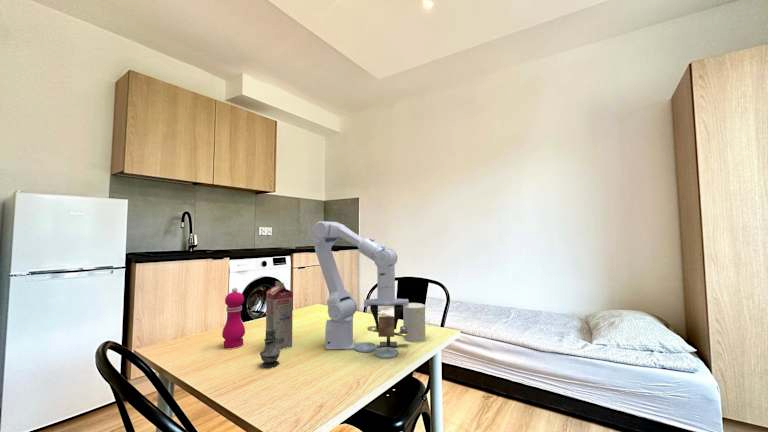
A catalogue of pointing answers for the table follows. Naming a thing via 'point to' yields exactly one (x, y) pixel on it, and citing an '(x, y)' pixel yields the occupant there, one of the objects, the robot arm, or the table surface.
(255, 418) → the table surface
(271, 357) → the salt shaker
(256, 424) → the table surface
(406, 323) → the cup
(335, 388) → the table surface
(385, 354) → the dish right
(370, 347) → the dish left
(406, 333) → the balance
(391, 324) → the block
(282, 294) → the juice carton
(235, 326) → the pepper mill
